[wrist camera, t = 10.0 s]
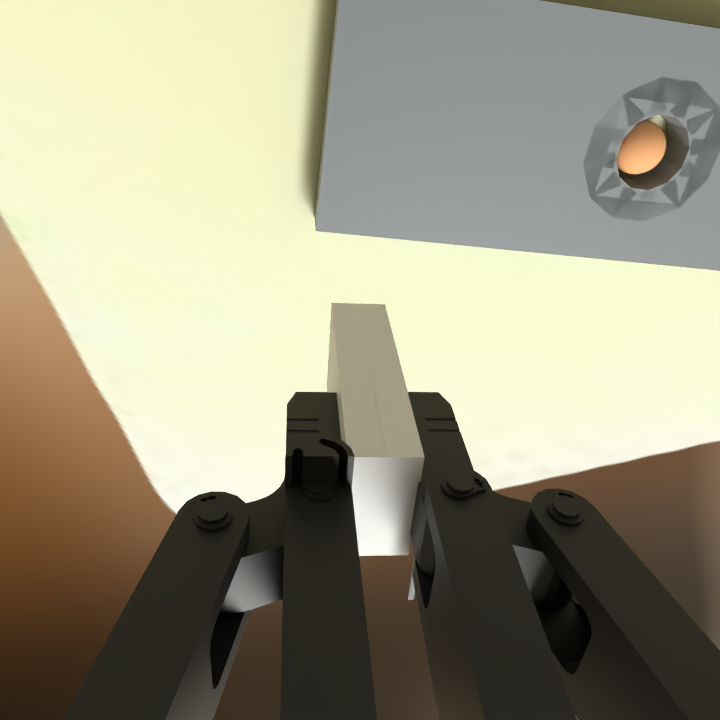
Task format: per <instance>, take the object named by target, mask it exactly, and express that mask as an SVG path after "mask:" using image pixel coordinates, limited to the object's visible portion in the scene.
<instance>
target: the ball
mask: <svg viewBox="0 0 720 720" xmlns="http://www.w3.org/2000/svg"><path fill="white" fill-rule="evenodd" d="M665 150H666V138H665V135H664V132H663V131H662V129H661V128H660V127H659V126H658V125H657V124H655V123H653V122H651V121H647V120H643V121H641V122H639V123H637V124H636V125H635V127H634V128H633V129H632V130H631V131H630V132H629V133H628V134H627V135H626V136H625V138H624V139H623V140H622V143H621V146H620V149H619V152H618V155H617V158H616V161H617V166H618V169H620V170H621V171H623V172H625V173H629V174H641V173H644V172H647V171H649V170H651V169H652V168H654V167H655V166H656V165H657V164H658V163H659V162H660V161H661V159H662V157H663V155H664V153H665Z"/></svg>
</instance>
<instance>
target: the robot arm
mask: <svg viewBox="0 0 720 720" xmlns="http://www.w3.org/2000/svg"><path fill="white" fill-rule="evenodd" d="M327 390H328V392H296V393H295V394H294V396H293V397H292V398H291V400H290V401H289V402H288V404H287V433H286V458H285V478H284V481H283V483H282V485H281V486H280V487H279V488H278V489H277V490H276V491H275V492H274V493H272V494H271V495H269V496H267V497H265V498H263V499H260V500H257V501H253V502H249V503H245V502H244V501H242V500H241V499H240V498H239V497H238V496H236V495H232V494H229V493H226V492H208V493H204V494H200V495H197V496H196V497H194V498H192V499H190V500H189V501H187V502H186V503H185V504H184V505H183V506H182V508H181V509H180V510H179V511H178V513H177V515H176V517H175V519H174V520H173V522H172V524H171V526H170V527H169V529H168V531H167V533H166V535H165V536H164V538H163V540H162V542H161V544H160V545H159V547H158V549H157V551H156V552H155V554H154V556H153V558H152V560H151V561H150V563H149V565H148V567H147V569H146V570H145V572H144V574H143V576H142V578H141V579H140V581H139V583H138V585H137V587H136V588H135V590H134V592H133V594H132V595H131V597H130V599H129V601H128V603H127V604H126V606H125V608H124V610H123V612H122V613H121V615H120V617H119V619H118V620H117V623H116V624H115V626H114V628H113V630H112V631H111V633H110V635H109V637H108V638H107V640H106V642H105V644H104V646H103V647H102V649H101V651H100V653H99V655H98V656H97V658H96V660H95V662H94V663H93V665H92V667H91V669H90V671H89V672H88V674H87V676H86V678H85V680H84V681H83V683H82V685H81V687H80V688H79V690H78V692H77V694H76V696H75V697H74V699H73V701H72V703H71V705H70V707H69V708H68V710H67V712H66V713H65V715H64V717H63V719H62V720H213V718H214V715H215V712H216V709H217V706H218V704H219V701H220V698H221V695H222V692H223V690H224V687H225V684H226V681H227V678H228V675H229V673H230V670H231V667H232V664H233V661H234V658H235V656H236V653H237V650H238V647H239V644H240V641H241V639H242V636H243V633H244V630H245V627H246V625H247V622H248V619H249V616H250V611H251V609H254V608H257V607H260V606H263V605H266V604H269V603H272V602H275V601H278V600H282V599H283V617H282V667H281V669H282V670H281V713H280V720H377V717H376V707H375V698H374V690H373V680H372V671H371V661H370V653H369V643H368V634H367V625H366V616H365V606H364V597H363V588H362V578H361V569H360V560H359V556H372V555H409V549H410V543H411V539H412V544H413V549H414V554H415V557H414V562H413V569H412V574H411V580H410V586H409V593H408V600H413V599H414V593H416V598H417V603H418V609H419V614H420V620H421V625H422V630H423V636H424V641H425V646H426V652H427V658H428V663H429V668H430V674H431V679H432V684H433V690H434V695H435V701H436V705H437V711H438V716H439V720H577V719H576V716H577V718H578V719H579V720H720V650H719V649H718V648H717V647H716V646H715V645H714V644H713V642H711V640H710V639H709V638H708V637H707V636H706V634H705V633H704V632H703V631H702V630H701V629H700V628H699V626H698V625H697V624H696V623H695V622H694V621H693V620H692V619H691V617H690V616H689V615H688V614H687V613H686V612H685V610H684V609H683V608H682V607H681V606H680V605H679V603H678V602H677V601H676V600H675V599H674V598H673V597H672V596H671V594H670V593H669V592H668V591H667V590H666V589H665V588H664V586H663V585H662V584H661V583H660V582H659V581H658V579H657V578H656V577H655V576H654V575H653V574H652V573H651V571H650V570H649V569H648V568H647V567H646V566H645V565H644V563H643V562H642V561H641V560H640V559H639V558H638V557H637V556H636V554H635V553H634V552H633V551H632V550H631V549H630V547H629V546H628V545H627V544H626V543H625V542H624V541H623V539H622V538H621V537H620V536H619V535H618V534H617V533H616V531H615V530H614V529H613V528H612V527H611V526H610V525H609V523H608V522H607V521H606V520H605V519H604V518H603V516H602V515H601V514H600V513H599V512H598V511H597V510H596V508H595V507H594V506H593V505H592V504H590V503H589V502H588V501H587V500H586V499H585V498H583V497H581V496H579V495H577V494H575V493H573V492H571V491H566V490H562V489H546V490H544V491H541V492H539V493H537V494H536V496H535V497H534V498H533V499H532V502H531V503H530V502H526V501H521V500H517V499H513V498H509V497H506V496H503V495H500V494H498V493H496V492H494V491H492V488H491V486H490V485H489V483H488V482H487V480H486V479H485V478H484V477H482V476H481V475H480V474H478V473H477V472H475V471H474V470H473V467H472V464H471V461H470V458H469V455H468V453H467V450H466V447H465V444H464V441H463V438H462V436H461V433H460V432H459V427H458V424H457V421H455V416H454V413H453V410H452V407H451V405H450V404H449V403H448V402H447V401H446V400H445V399H444V398H443V397H442V396H441V395H440V394H439V393H438V392H407V388H406V384H405V380H404V376H403V373H402V369H401V365H400V361H399V357H398V353H397V349H396V346H395V342H394V338H393V334H392V330H391V326H390V323H389V319H388V315H387V311H386V307H385V305H382V304H347V303H332V306H331V324H330V342H329V360H328V378H327ZM575 714H576V716H575Z"/></svg>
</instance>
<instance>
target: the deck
mask: <svg viewBox="0 0 720 720" xmlns="http://www.w3.org/2000/svg"><path fill="white" fill-rule="evenodd" d="M655 115H661V116H662V117H663V118H664V119H665V120H666V121H667V128H668V135H669V140H668V143H667V146H666V150H665V153H664V155H663V157H662V159H661V161H660V162H659V163H658V164H657V165H656V166H655V167H654V168H652V169H651V170H650V171H649V172H647V173H645V174H642V175H640V176H637V177H635V178H633V179H625V178H620V177H619V172H618V166H617V161H616V158H617V155H618V152H619V149H620V146H621V143H622V140H623V139H624V138H625V136H626V135H627V134H628V133H629V132H630V131H631V130H632V129H633V128H634V127H635V125H636V124H637V123H639V122H641V121H643V120H646V119H648V118H651V117H653V116H655ZM315 227H316V231H322V232H332V233H342V234H352V235H362V236H373V237H383V238H393V239H403V240H413V241H424V242H434V243H444V244H454V245H464V246H475V247H485V248H495V249H505V250H515V251H526V252H536V253H546V254H556V255H566V256H577V257H587V258H597V259H607V260H617V261H628V262H638V263H648V264H658V265H668V266H679V267H689V268H699V269H709V270H719V271H720V29H719V28H713V27H707V26H700V25H694V24H688V23H681V22H675V21H669V20H662V19H656V18H650V17H643V16H637V15H631V14H624V13H618V12H612V11H605V10H599V9H593V8H586V7H580V6H574V5H567V4H561V3H555V2H548V1H542V0H336V9H335V19H334V29H333V39H332V49H331V59H330V69H329V80H328V90H327V100H326V110H325V120H324V130H323V140H322V150H321V160H320V170H319V181H318V191H317V201H316V211H315Z"/></svg>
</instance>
